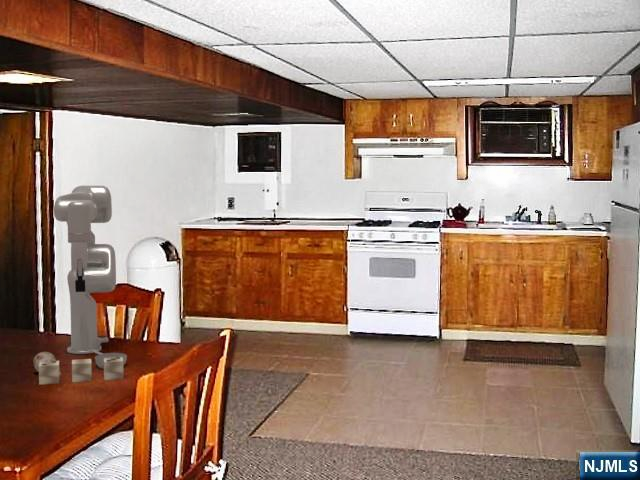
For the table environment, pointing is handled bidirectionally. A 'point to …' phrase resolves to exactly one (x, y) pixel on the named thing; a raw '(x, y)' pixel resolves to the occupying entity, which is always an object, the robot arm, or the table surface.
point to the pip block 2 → (113, 368)
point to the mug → (43, 359)
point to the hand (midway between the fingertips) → (80, 291)
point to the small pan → (100, 358)
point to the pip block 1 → (49, 372)
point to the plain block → (81, 370)
